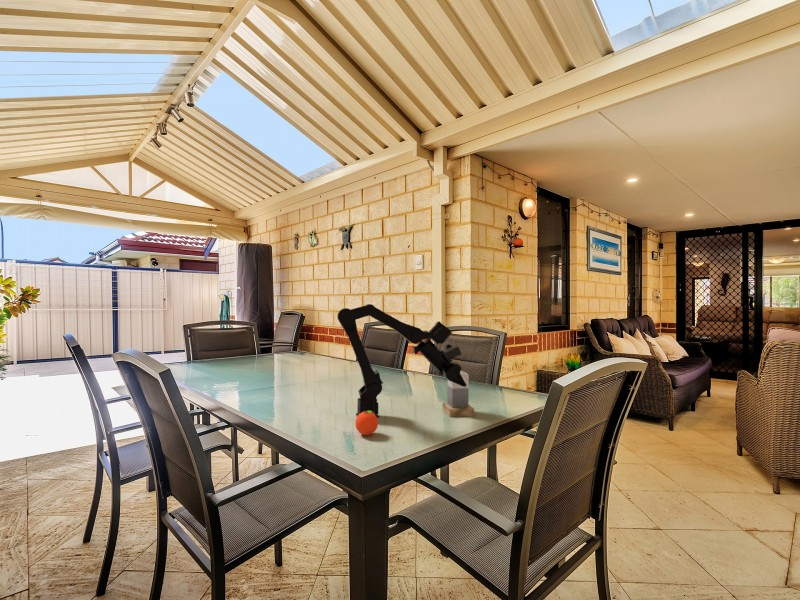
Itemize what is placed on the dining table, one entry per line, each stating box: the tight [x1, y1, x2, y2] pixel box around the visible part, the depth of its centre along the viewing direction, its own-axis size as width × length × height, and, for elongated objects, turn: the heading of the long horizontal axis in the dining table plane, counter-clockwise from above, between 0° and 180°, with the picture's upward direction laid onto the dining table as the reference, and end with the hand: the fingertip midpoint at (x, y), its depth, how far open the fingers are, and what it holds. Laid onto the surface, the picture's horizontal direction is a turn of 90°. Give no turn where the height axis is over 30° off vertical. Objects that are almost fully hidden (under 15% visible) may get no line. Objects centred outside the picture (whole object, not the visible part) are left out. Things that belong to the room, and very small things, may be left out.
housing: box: [446, 370, 470, 408], centre depth 143 cm, size 6×6×12 cm
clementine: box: [354, 411, 379, 436], centre depth 120 cm, size 8×7×7 cm
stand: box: [442, 402, 475, 418], centre depth 143 cm, size 9×9×2 cm
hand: (461, 383), depth 143 cm, fingers open, 8 cm apart
